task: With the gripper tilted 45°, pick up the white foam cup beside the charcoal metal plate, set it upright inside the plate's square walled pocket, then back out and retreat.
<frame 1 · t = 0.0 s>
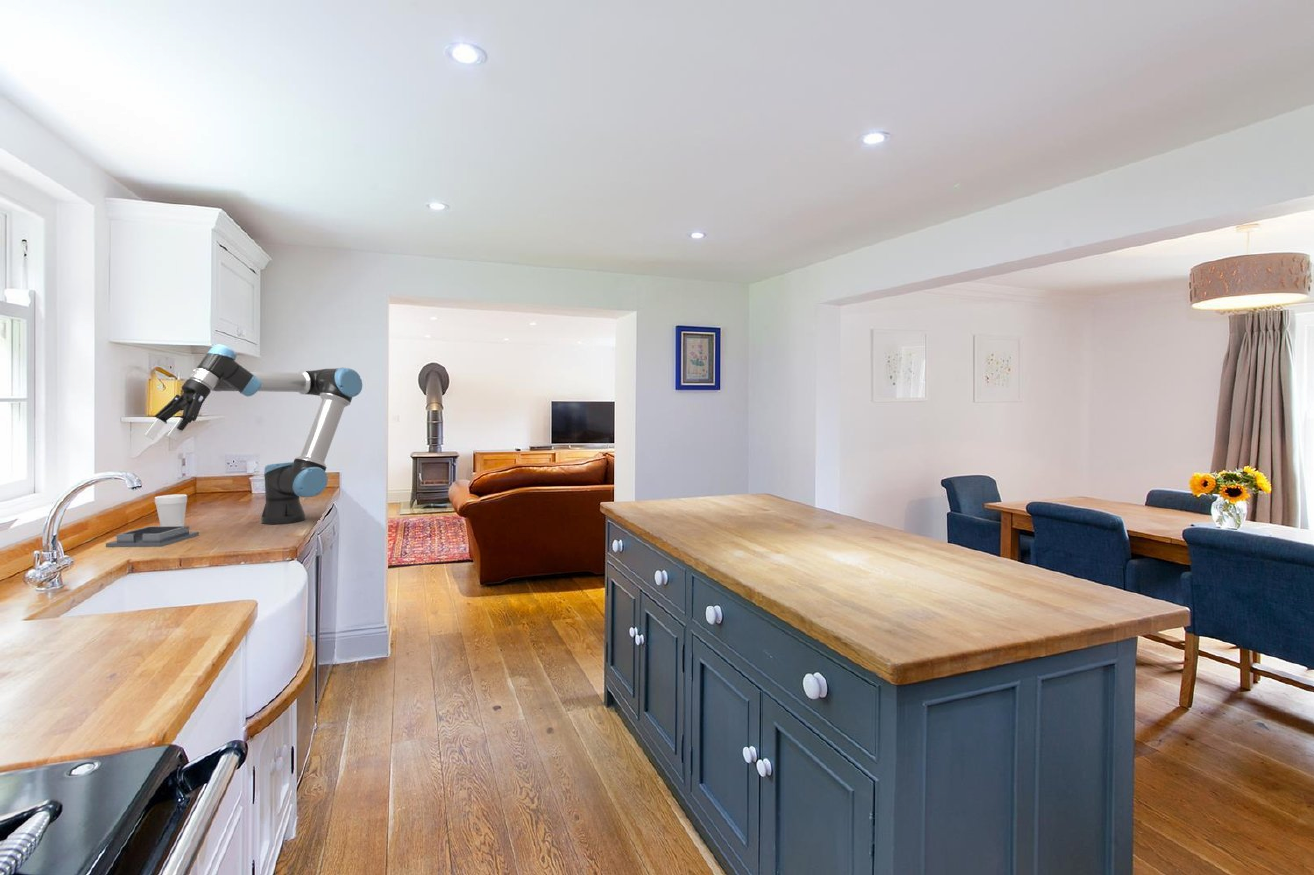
hand: (159, 437, 209), 36 cm above the worktop, tool tilted 35°, fingers open, 13 cm apart
pocket plate: (154, 540, 223), on the worktop
foam cup: (172, 531, 240), on the worktop
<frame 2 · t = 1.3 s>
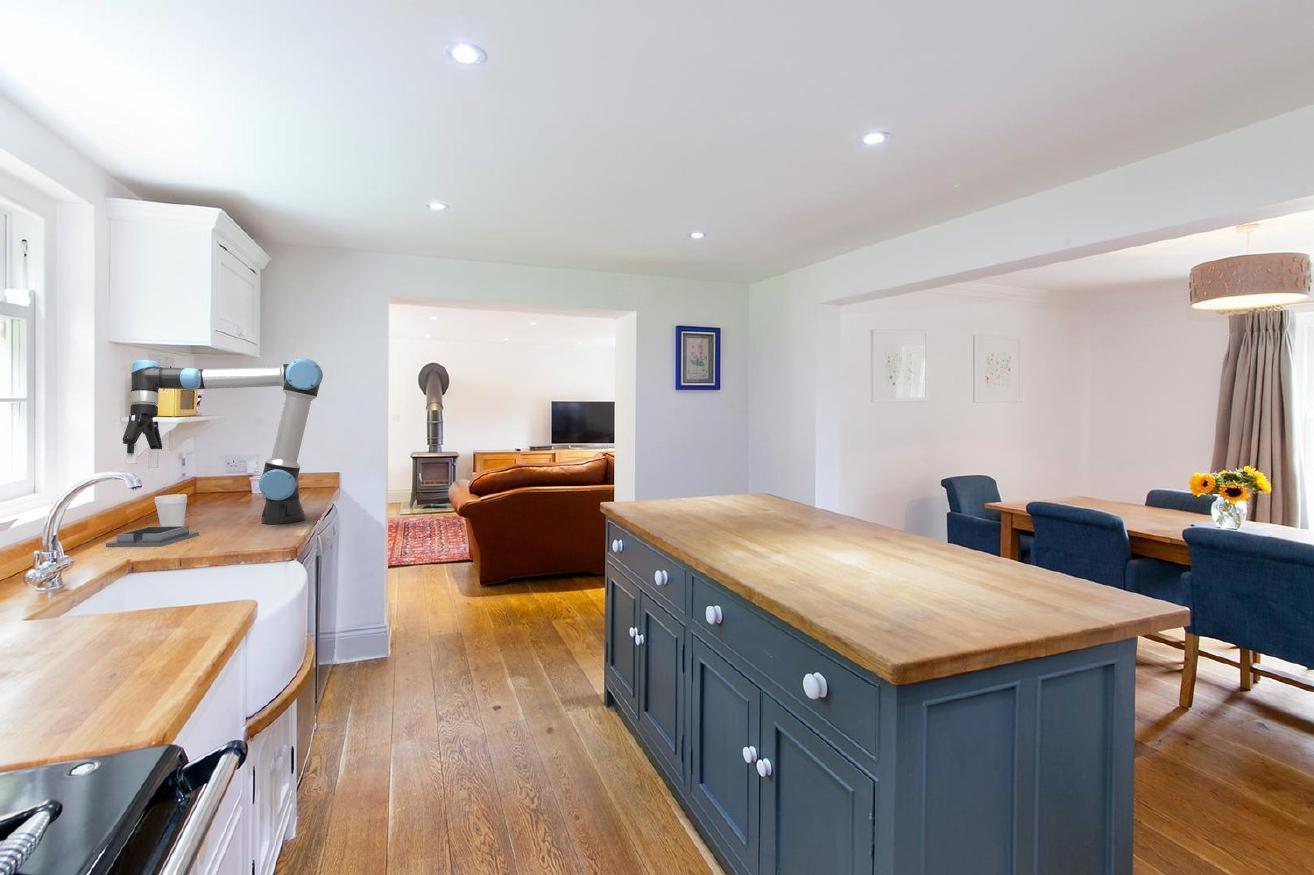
hand: (142, 465, 224), 26 cm above the worktop, tool pointing down, fingers open, 13 cm apart
nothing on the worktop moved.
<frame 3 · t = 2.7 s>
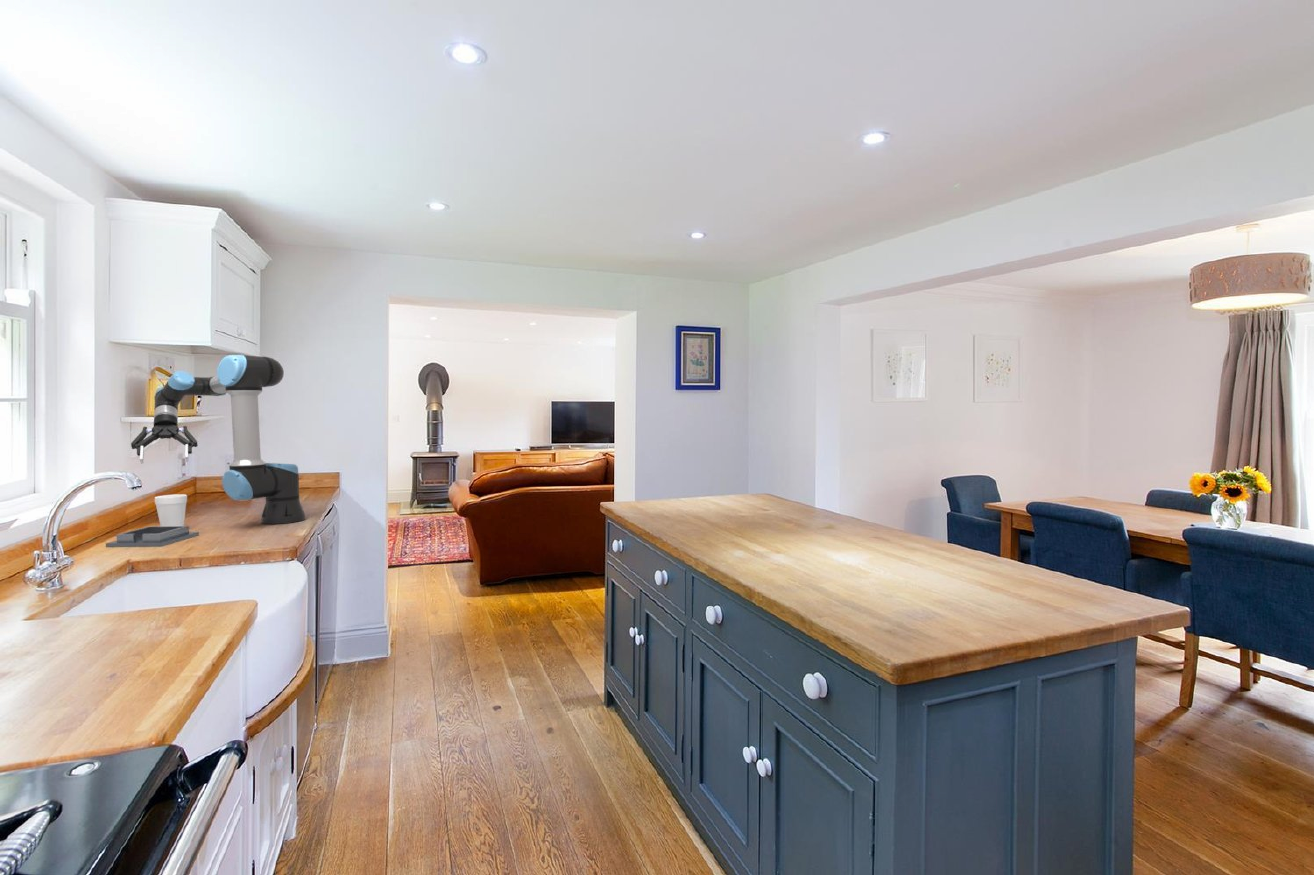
hand: (164, 460, 245), 26 cm above the worktop, tool tilted 45°, fingers open, 13 cm apart
nothing on the worktop moved.
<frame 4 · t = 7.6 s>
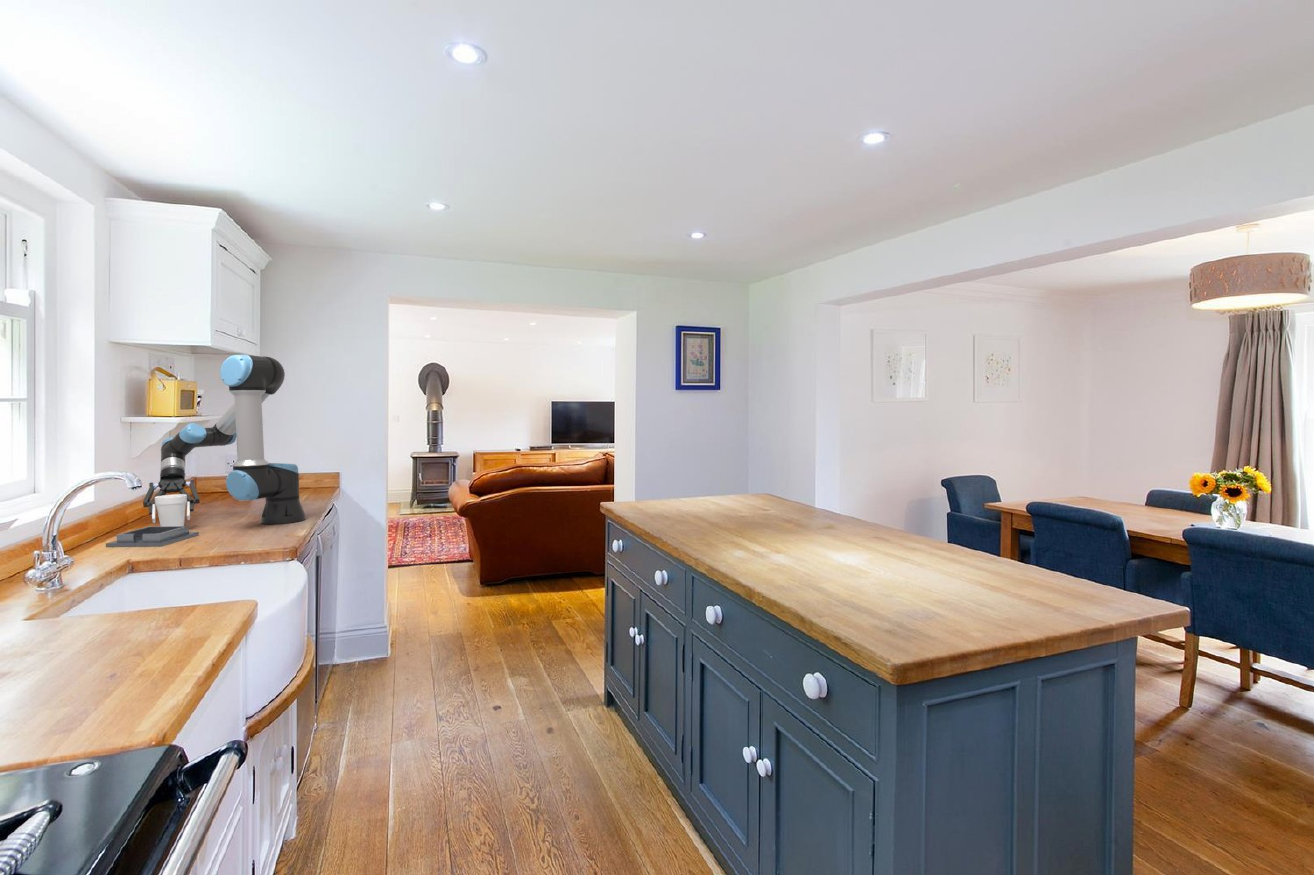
hand: (171, 519, 237), 5 cm above the worktop, tool tilted 45°, fingers closed on foam cup, 9 cm apart
foam cup: (172, 531, 240), on the worktop, touching gripper
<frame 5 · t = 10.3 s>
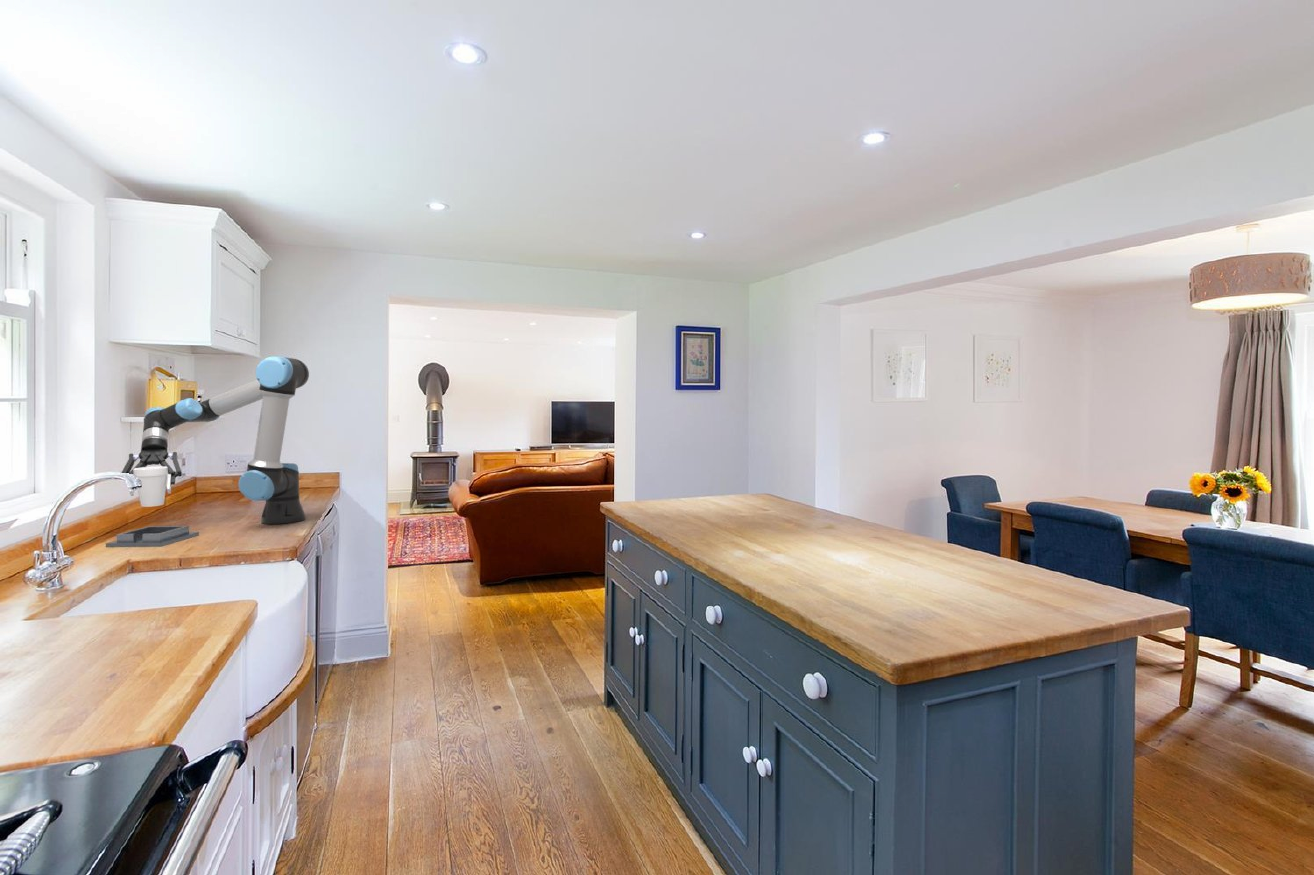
hand: (150, 492, 224), 16 cm above the worktop, tool tilted 45°, fingers closed on foam cup, 9 cm apart
foam cup: (152, 505, 227), point 11 cm above the worktop, touching gripper
when the fingers open (7 cm above the worktop, at t = 13.5 s): foam cup drops 1 cm, resting on pocket plate.
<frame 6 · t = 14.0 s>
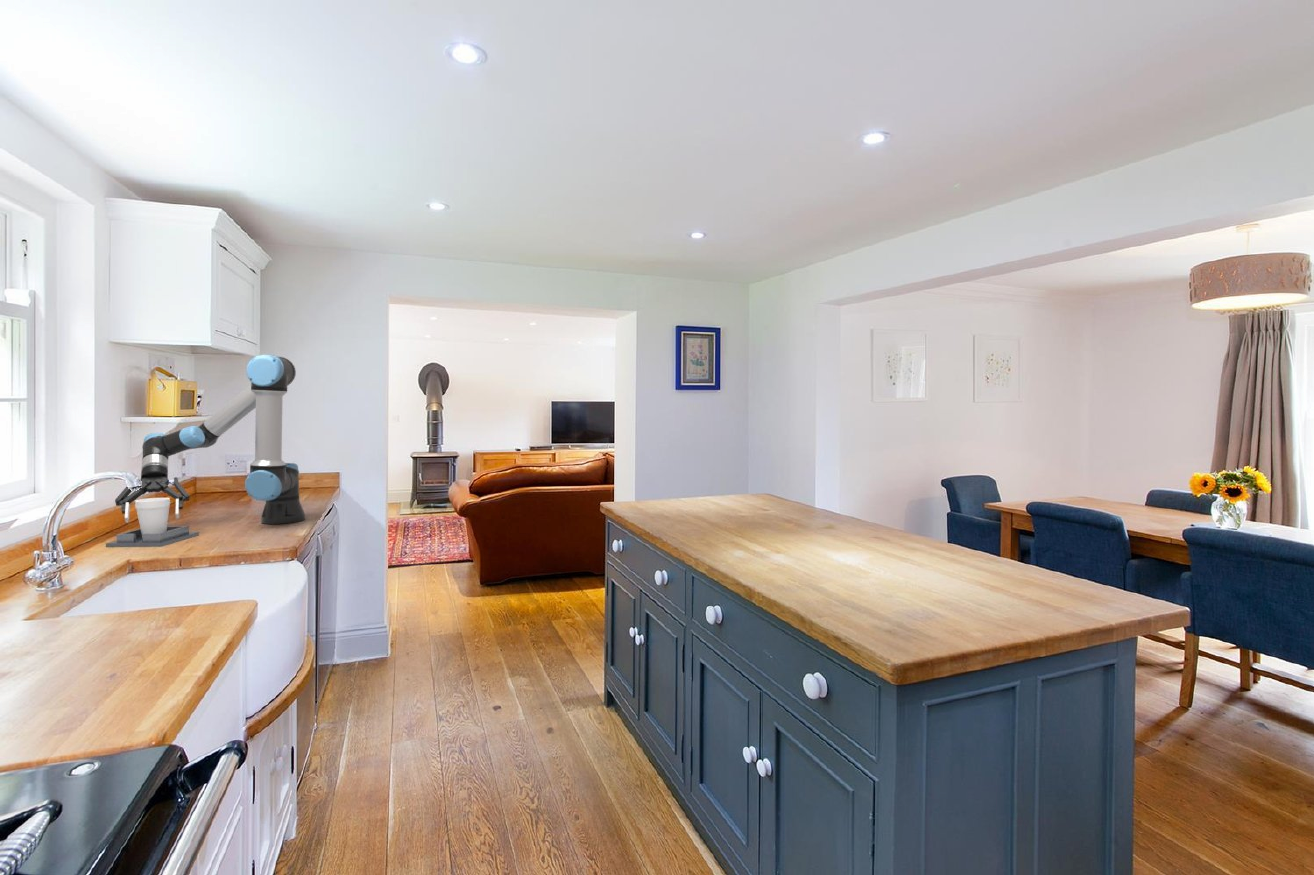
hand: (152, 518, 221), 8 cm above the worktop, tool tilted 45°, fingers open, 13 cm apart
foam cup: (154, 537, 223), point 1 cm above the worktop, touching pocket plate
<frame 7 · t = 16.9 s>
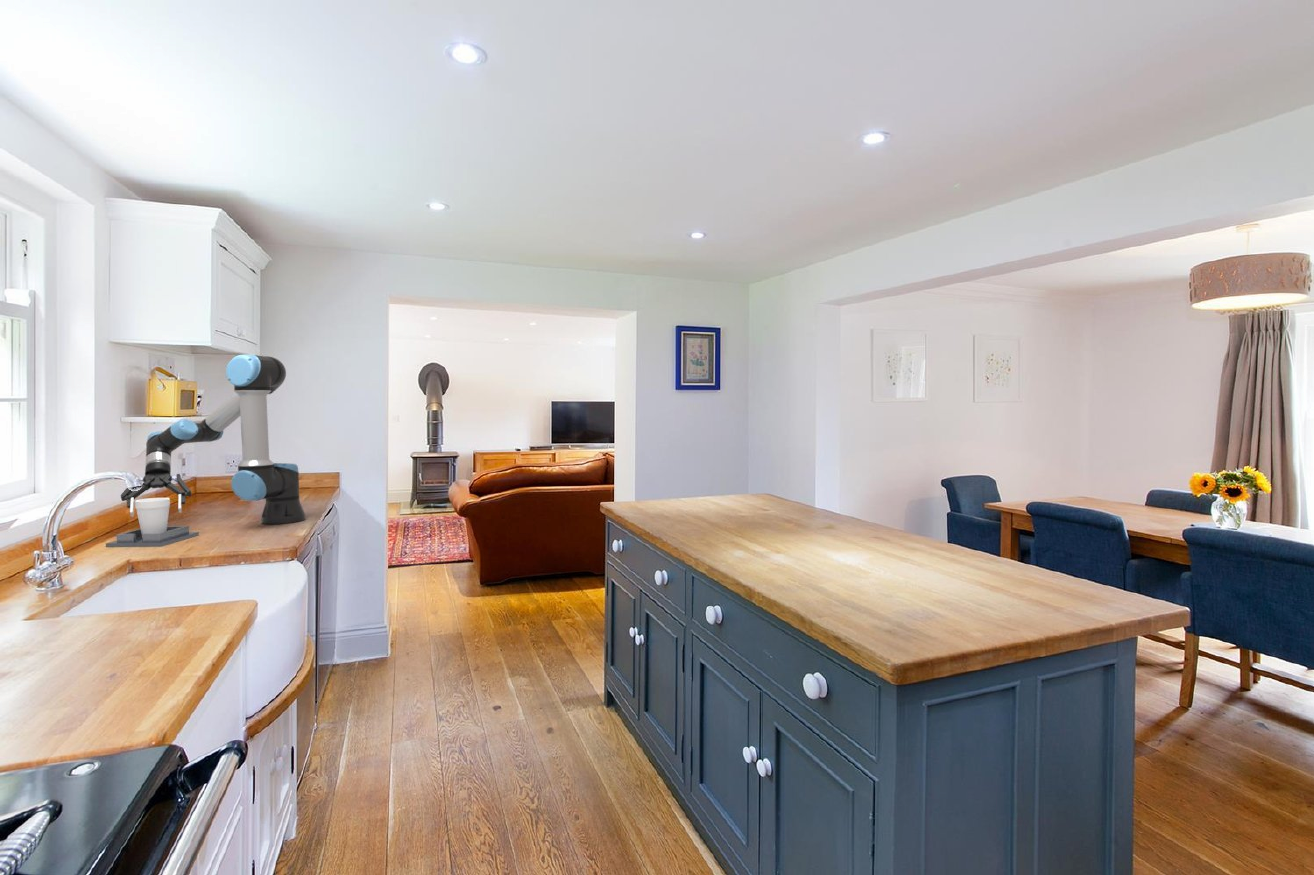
hand: (156, 512, 231), 8 cm above the worktop, tool tilted 45°, fingers open, 13 cm apart
nothing on the worktop moved.
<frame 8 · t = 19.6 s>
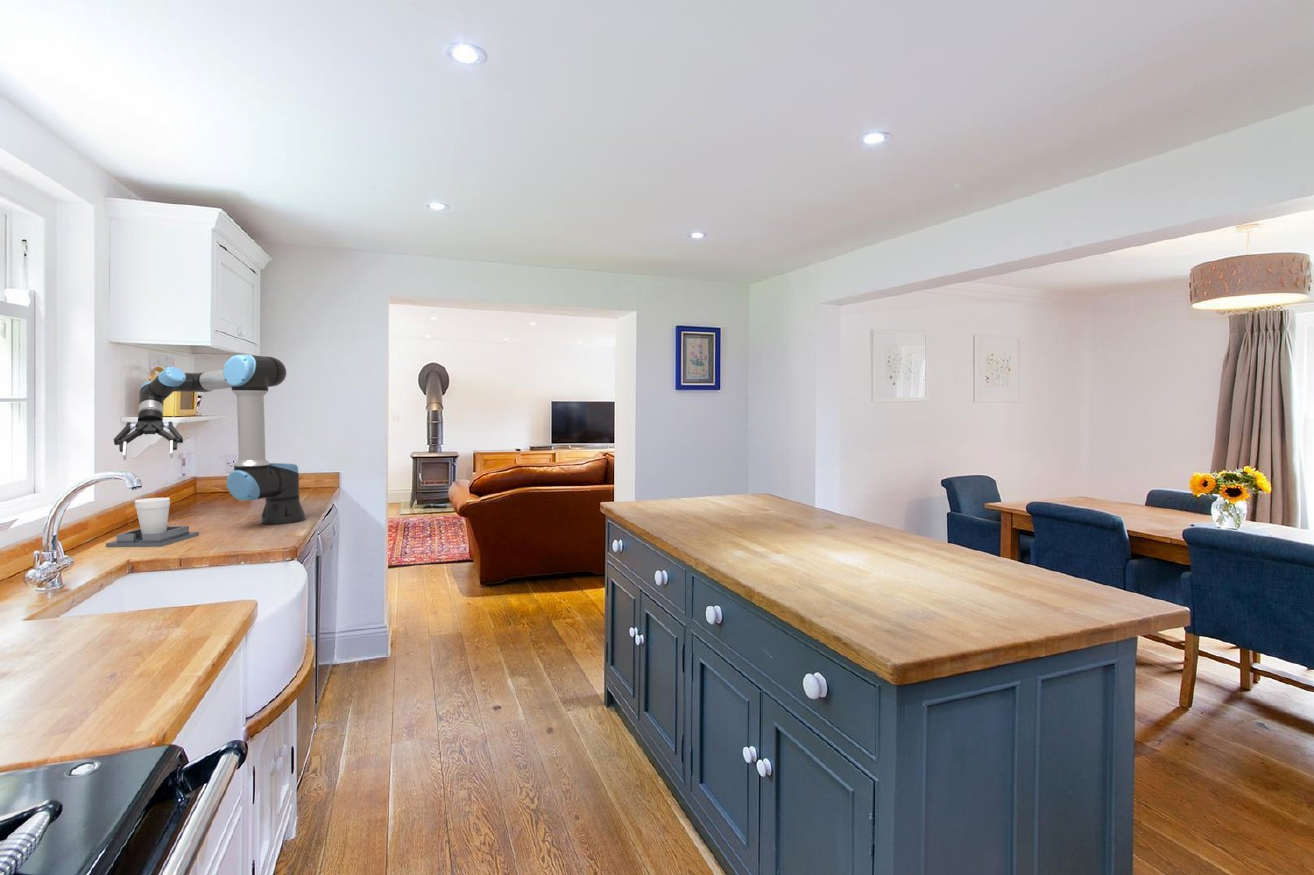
hand: (148, 456, 237), 28 cm above the worktop, tool tilted 45°, fingers open, 13 cm apart
nothing on the worktop moved.
at the end: foam cup 0.1 cm off-centre on the pocket plate, point 1.0 cm above the pocket plate's base; foam cup tilted 0°; the gripper is holding nothing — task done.
